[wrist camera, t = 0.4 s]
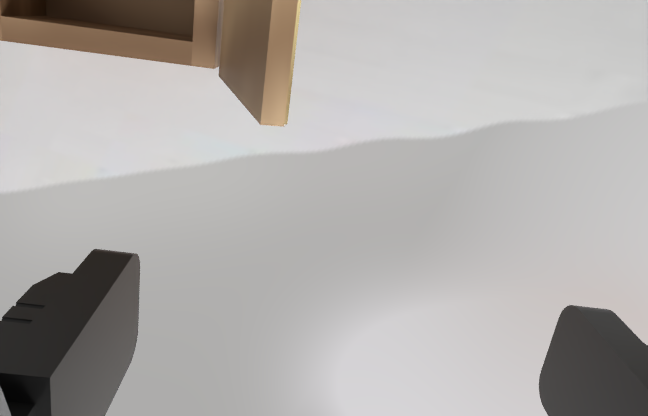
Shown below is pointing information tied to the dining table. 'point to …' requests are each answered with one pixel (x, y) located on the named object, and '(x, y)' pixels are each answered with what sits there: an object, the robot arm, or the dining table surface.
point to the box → (120, 27)
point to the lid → (260, 55)
